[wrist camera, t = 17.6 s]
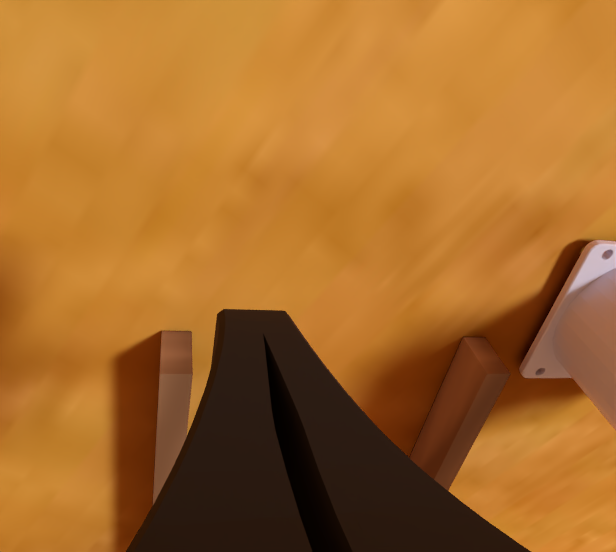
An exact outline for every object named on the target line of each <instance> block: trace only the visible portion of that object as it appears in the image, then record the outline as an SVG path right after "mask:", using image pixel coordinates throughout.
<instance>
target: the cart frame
mask: <svg viewBox="0 0 616 552" xmlns="http://www.w3.org/2000/svg"><path fill="white" fill-rule="evenodd" d="M192 375H193V372H192V332H189V331H162V335H161V354H160V373H159V392H158V411H157V430H156V449H155V468H154V487H153V504H154V503H155V501H156V499H157V497H158V495H159V493H160V491H161V489H162V487H163V485H164V483H165V481H166V479H167V478H168V476H169V474H170V472H171V470H172V468H173V466H174V464H175V461H176V459H177V457H178V455H179V453H180V451H181V449H182V446H183V444H184V442H185V440H186V436H187V425H188V415H189V405H190V395H191V385H192ZM509 376H510V372H509V371H508V369H507V368H506V367H505V365H504V364H503V362H502V361H501V360H500V358H499V357H498V355H497V354H496V352H495V351H494V350H493V348H492V347H491V345H490V344H489V342H488V341H487V340H486V338H485V337H463V338H462V341H461V343H460V345H459V347H458V350H457V352H456V354H455V356H454V359H453V361H452V363H451V365H450V368H449V370H448V372H447V374H446V376H445V379H444V381H443V383H442V385H441V388H440V390H439V392H438V394H437V397H436V399H435V401H434V403H433V406H432V408H431V410H430V412H429V414H428V417H427V419H426V421H425V423H424V426H423V428H422V430H421V432H420V435H419V437H418V439H417V441H416V444H415V446H414V448H413V450H412V453H411V455H410V457H409V458H410V459H411V460H412V461H413V462H414V463H415V464H416V465H418V466H419V467H420V468H421V469H422V470H423V471H424V472H426V473H427V474H428V475H429V476H430V477H431V478H433V479H434V480H435V481H436V482H438V483H439V484H440V485H441V486H443V487H444V488H445V489H446V490H447V491H448V490H449V488H450V486H451V484H452V482H453V481H454V479H455V477H456V475H457V473H458V471H459V469H460V468H461V466H462V464H463V462H464V460H465V458H466V456H467V454H468V453H469V451H470V449H471V447H472V445H473V443H474V441H475V439H476V438H477V436H478V434H479V432H480V430H481V428H482V426H483V425H484V423H485V421H486V419H487V417H488V415H489V413H490V411H491V410H492V408H493V406H494V404H495V402H496V400H497V398H498V396H499V395H500V393H501V391H502V389H503V387H504V385H505V383H506V382H507V380H508V378H509Z"/></svg>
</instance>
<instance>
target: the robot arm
mask: <svg viewBox="0 0 616 552" xmlns="http://www.w3.org/2000/svg"><path fill="white" fill-rule="evenodd" d="M605 251H606V252H605ZM604 252H605V253H604ZM519 372H520V373H521V375H522V376H523V377H524V378H573V379H574V381H575V382H576V383H577V384H578V385H579V387H580V388H581V389H582V390H583V391H584V393H585V394H586V395H587V396H588V397H589V399H590V400H591V401H592V402H593V404H594V405H595V406H596V407H597V408H598V410H599V411H600V412H601V413H602V414H603V416H604V417H605V418H606V419H607V420H608V422H609V423H610V424H611V425H612V426H613V428H614V429H615V430H616V241H605V240H594V241H592V242H590V243H589V244H587V245H586V246H585V248H584V249H583V251H582V253H581V255H580V257H579V259H578V260H577V262H576V264H575V266H574V268H573V270H572V271H571V273H570V275H569V277H568V279H567V281H566V283H565V284H564V286H563V288H562V290H561V292H560V294H559V295H558V297H557V299H556V301H555V303H554V305H553V307H552V308H551V310H550V312H549V314H548V316H547V318H546V319H545V321H544V323H543V325H542V327H541V329H540V330H539V332H538V334H537V336H536V338H535V340H534V342H533V343H532V345H531V347H530V349H529V351H528V353H527V354H526V356H525V358H524V360H523V362H522V364H521V366H520V368H519ZM126 552H531V551H529V550H528V549H526V548H525V547H523V546H522V545H520V544H519V543H517V542H516V541H514V540H513V539H512V538H510V537H509V536H507V535H506V534H505V533H503V532H502V531H500V530H499V529H498V528H496V527H495V526H493V525H492V524H490V523H489V522H488V521H486V520H485V519H483V518H482V517H481V516H479V515H478V514H477V513H475V512H474V511H473V510H471V509H470V508H469V507H467V506H466V505H465V504H464V503H462V502H461V501H460V500H458V499H457V498H456V497H455V496H454V495H452V494H451V493H450V492H449V491H447V490H446V489H445V488H444V487H443V486H441V485H440V484H439V483H438V482H436V481H435V480H434V479H433V478H431V477H430V476H429V475H428V474H427V473H426V472H424V471H423V470H422V469H421V468H420V467H419V466H418V465H416V464H415V463H414V462H413V461H412V460H411V459H410V458H409V457H408V456H407V455H406V454H404V453H403V452H402V451H401V450H400V449H399V448H398V447H397V446H396V445H395V444H394V443H393V442H392V441H391V440H390V439H389V438H388V437H387V436H386V435H385V434H384V433H383V432H382V431H381V430H380V429H379V428H378V427H377V426H376V425H375V424H374V423H373V422H372V421H371V420H370V419H369V417H368V416H367V415H366V414H365V413H364V412H363V411H362V410H361V409H360V407H359V406H358V405H357V404H356V403H355V402H354V401H353V399H352V398H351V397H350V396H349V395H348V394H347V392H346V391H345V390H344V389H343V388H342V386H341V385H340V384H339V383H338V381H337V380H336V379H335V378H334V376H333V375H332V374H331V373H330V371H329V370H328V369H327V368H326V366H325V365H324V364H323V362H322V361H321V360H320V358H319V357H318V356H317V354H316V353H315V352H314V350H313V349H312V348H311V346H310V345H309V343H308V342H307V341H306V339H305V338H304V336H303V335H302V334H301V332H300V331H299V329H298V328H297V326H296V325H295V324H294V322H293V321H292V319H291V318H290V316H289V315H288V314H287V313H286V312H285V311H273V310H235V309H223V310H222V311H221V312H219V313H218V314H217V321H216V330H215V338H214V347H213V356H212V364H211V370H210V374H209V377H208V381H207V384H206V388H205V391H204V393H203V396H202V399H201V401H200V404H199V407H198V410H197V412H196V415H195V418H194V420H193V423H192V425H191V428H190V430H189V433H188V435H187V437H186V440H185V442H184V444H183V446H182V449H181V451H180V453H179V455H178V457H177V459H176V461H175V464H174V466H173V468H172V470H171V472H170V474H169V476H168V478H167V479H166V481H165V483H164V485H163V487H162V489H161V491H160V493H159V495H158V497H157V499H156V501H155V503H154V504H153V506H152V508H151V510H150V512H149V514H148V515H147V517H146V519H145V521H144V522H143V524H142V526H141V527H140V529H139V531H138V532H137V534H136V536H135V537H134V539H133V541H132V542H131V544H130V546H129V547H128V549H127V551H126Z"/></svg>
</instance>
